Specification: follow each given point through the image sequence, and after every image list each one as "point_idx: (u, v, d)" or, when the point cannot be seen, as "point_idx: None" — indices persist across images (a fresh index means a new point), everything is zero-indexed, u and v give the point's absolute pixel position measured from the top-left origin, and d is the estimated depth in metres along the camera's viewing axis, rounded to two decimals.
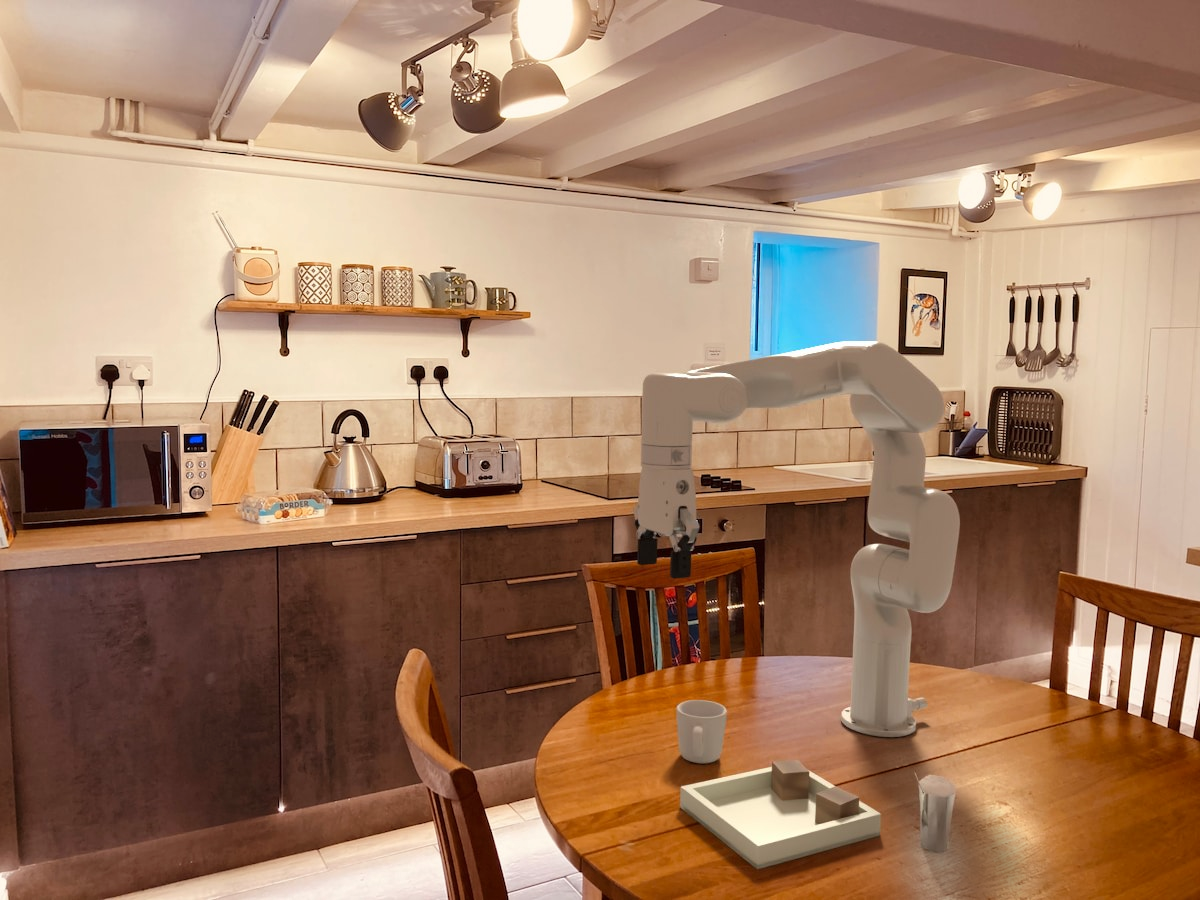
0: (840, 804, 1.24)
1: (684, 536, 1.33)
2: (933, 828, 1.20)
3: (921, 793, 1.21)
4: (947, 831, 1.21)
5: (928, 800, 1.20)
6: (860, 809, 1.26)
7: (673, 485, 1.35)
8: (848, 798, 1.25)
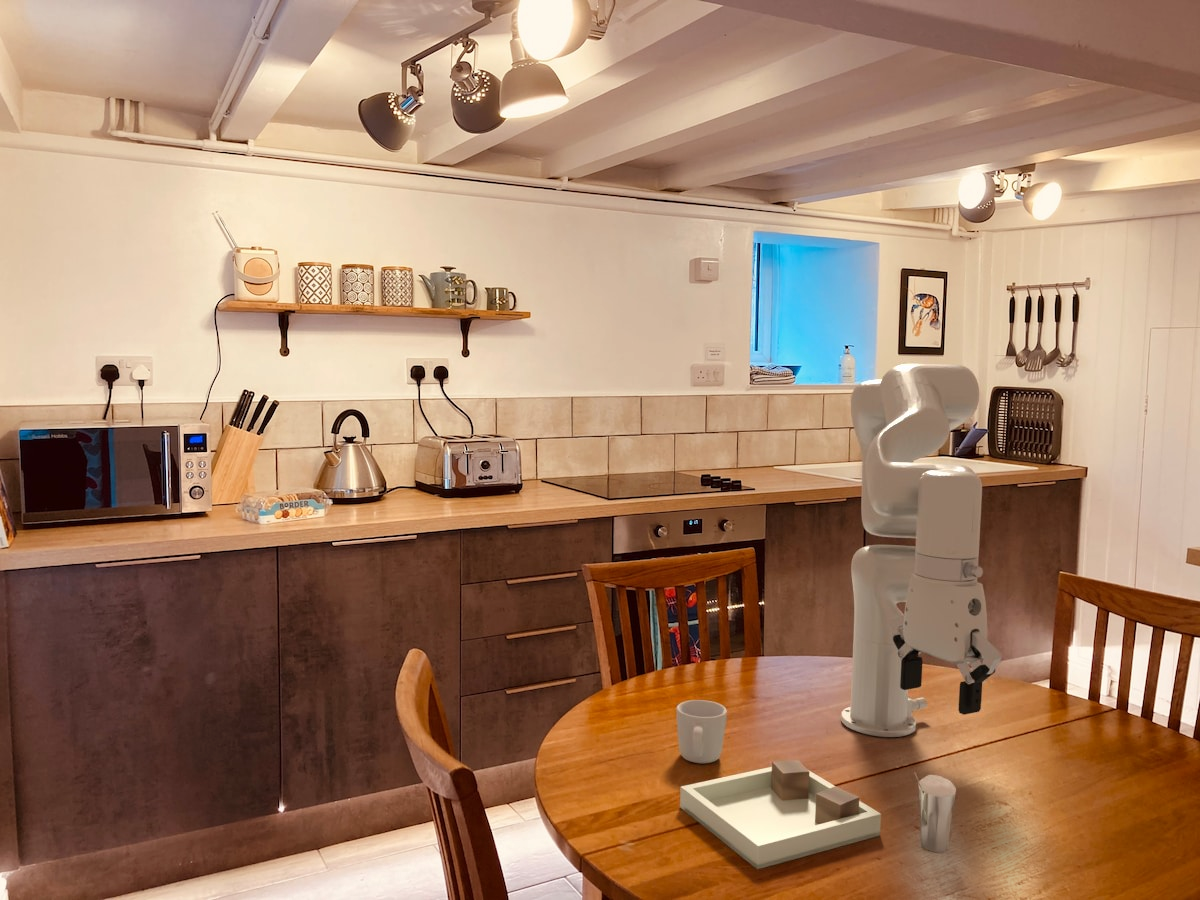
0: (840, 804, 1.24)
1: (982, 667, 1.13)
2: (933, 828, 1.20)
3: (921, 793, 1.21)
4: (947, 831, 1.21)
5: (928, 800, 1.20)
6: (860, 809, 1.26)
7: (965, 605, 1.14)
8: (848, 798, 1.25)
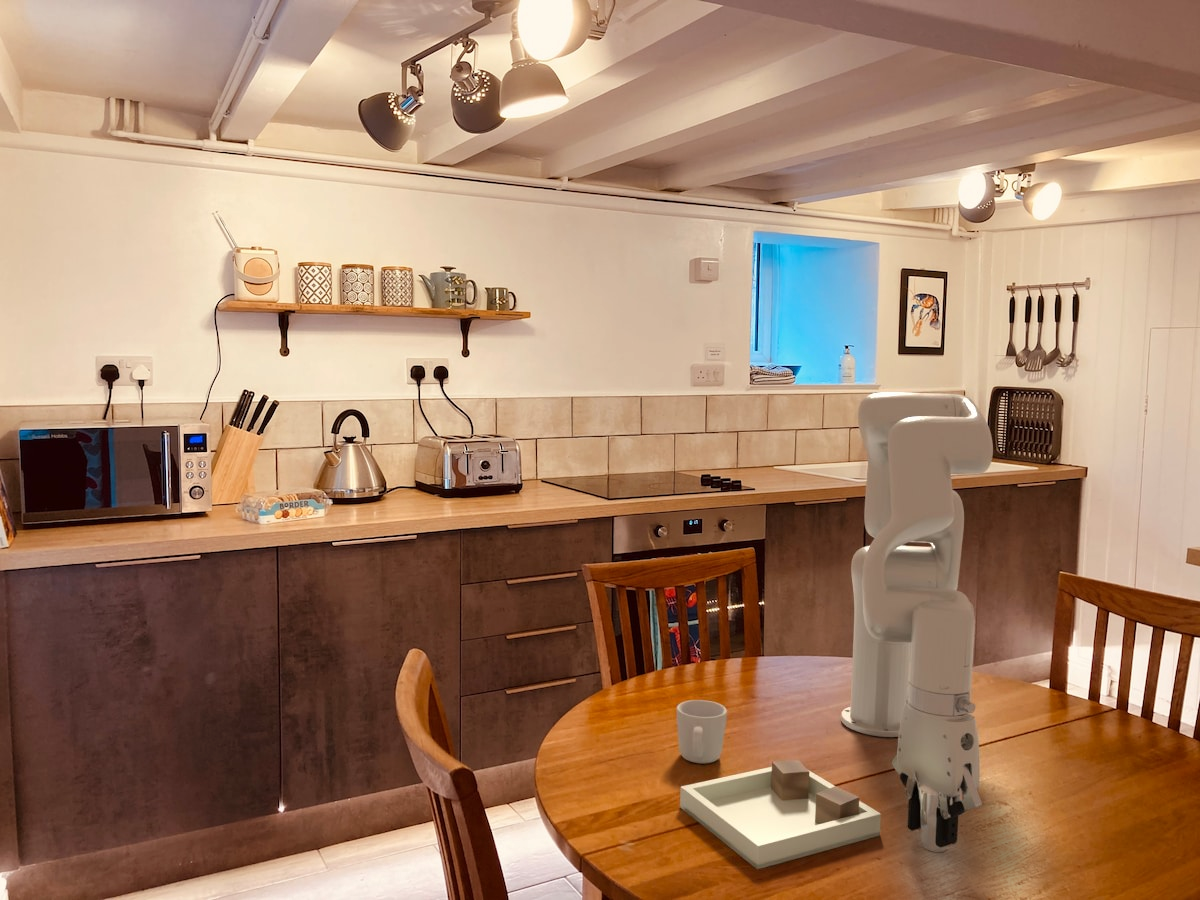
0: (840, 804, 1.24)
1: (957, 804, 1.17)
2: (933, 828, 1.20)
3: (920, 793, 1.21)
4: None
5: (927, 799, 1.20)
6: (860, 809, 1.26)
7: (957, 740, 1.16)
8: (848, 798, 1.25)
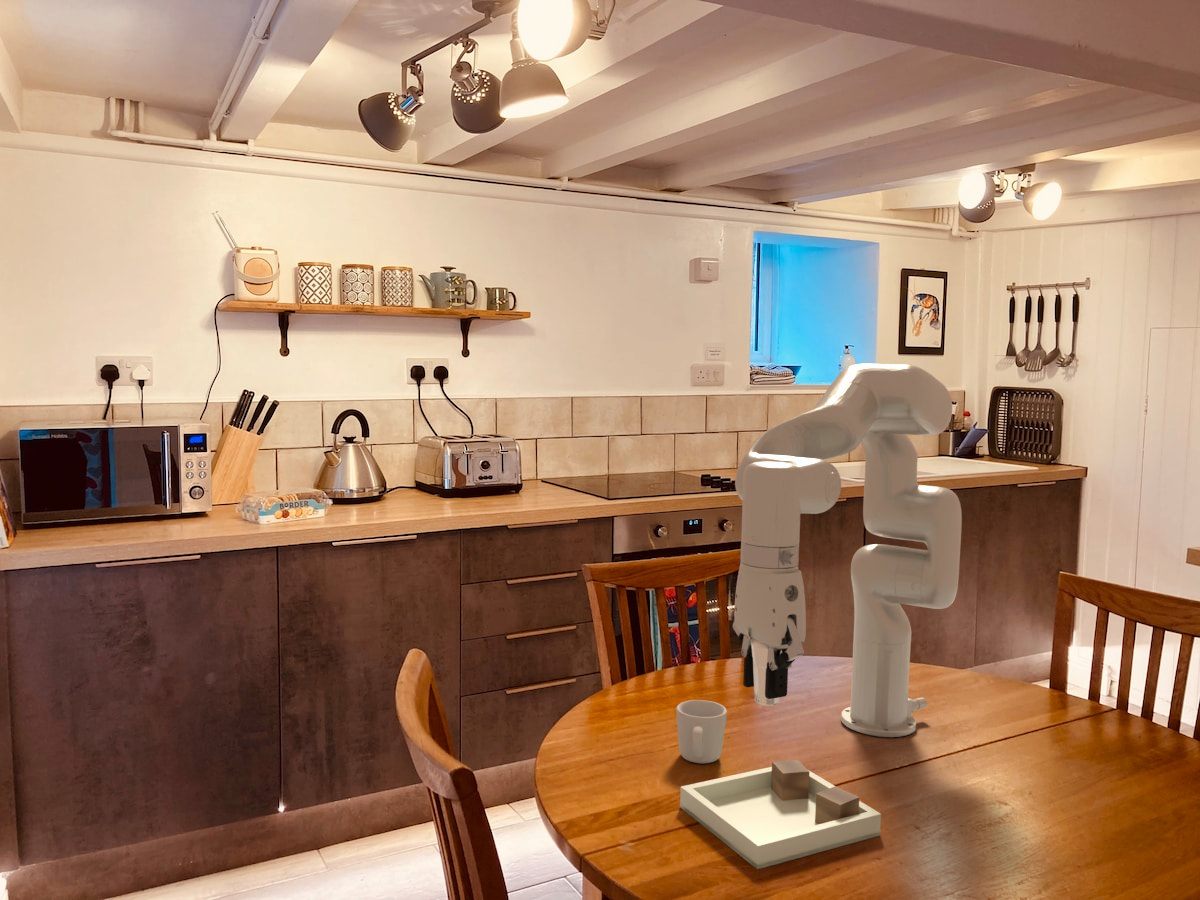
0: (840, 804, 1.24)
1: (782, 654, 1.20)
2: (764, 682, 1.24)
3: (752, 648, 1.24)
4: None
5: (758, 654, 1.24)
6: (860, 809, 1.26)
7: (781, 591, 1.19)
8: (848, 798, 1.25)
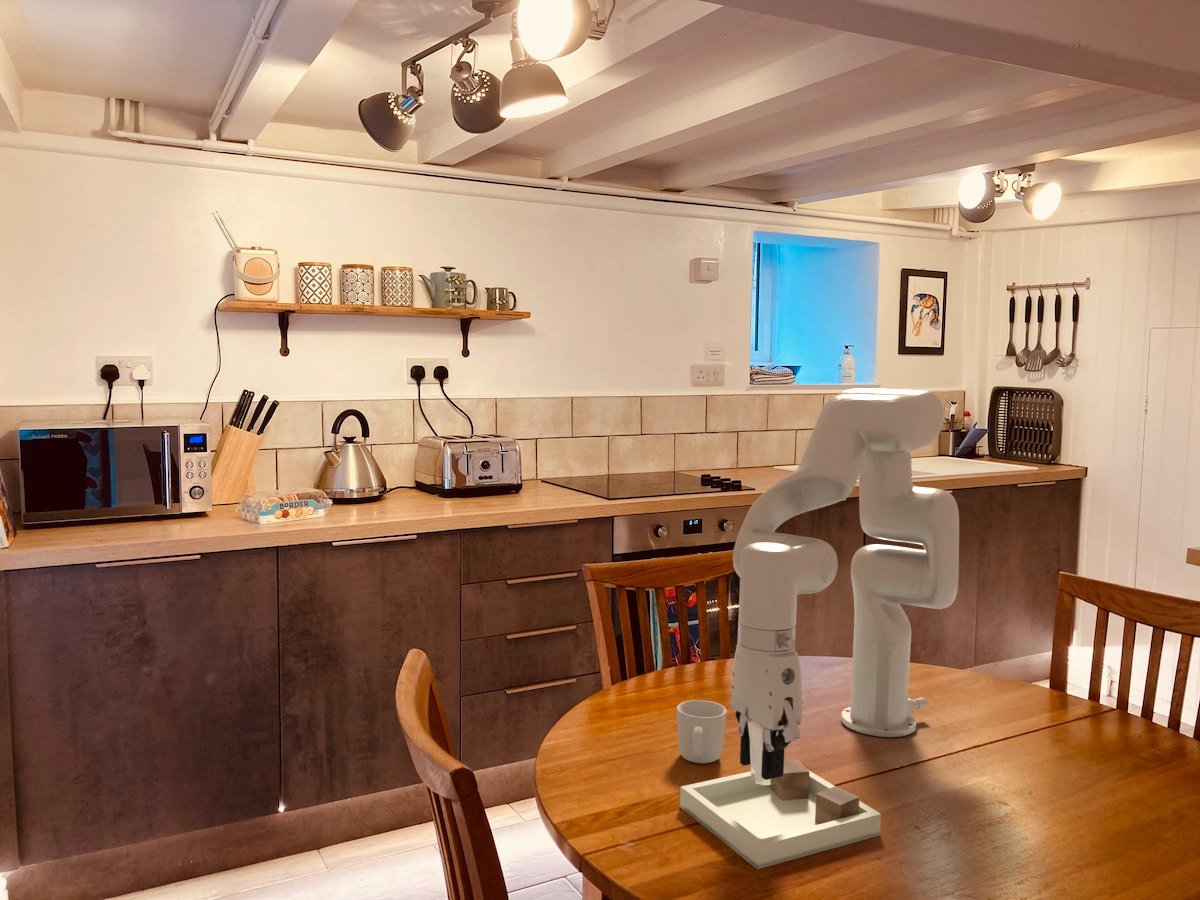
0: (840, 804, 1.24)
1: (779, 736, 1.21)
2: (760, 762, 1.25)
3: (749, 728, 1.25)
4: None
5: (754, 734, 1.24)
6: (860, 809, 1.26)
7: (778, 675, 1.20)
8: (848, 798, 1.25)
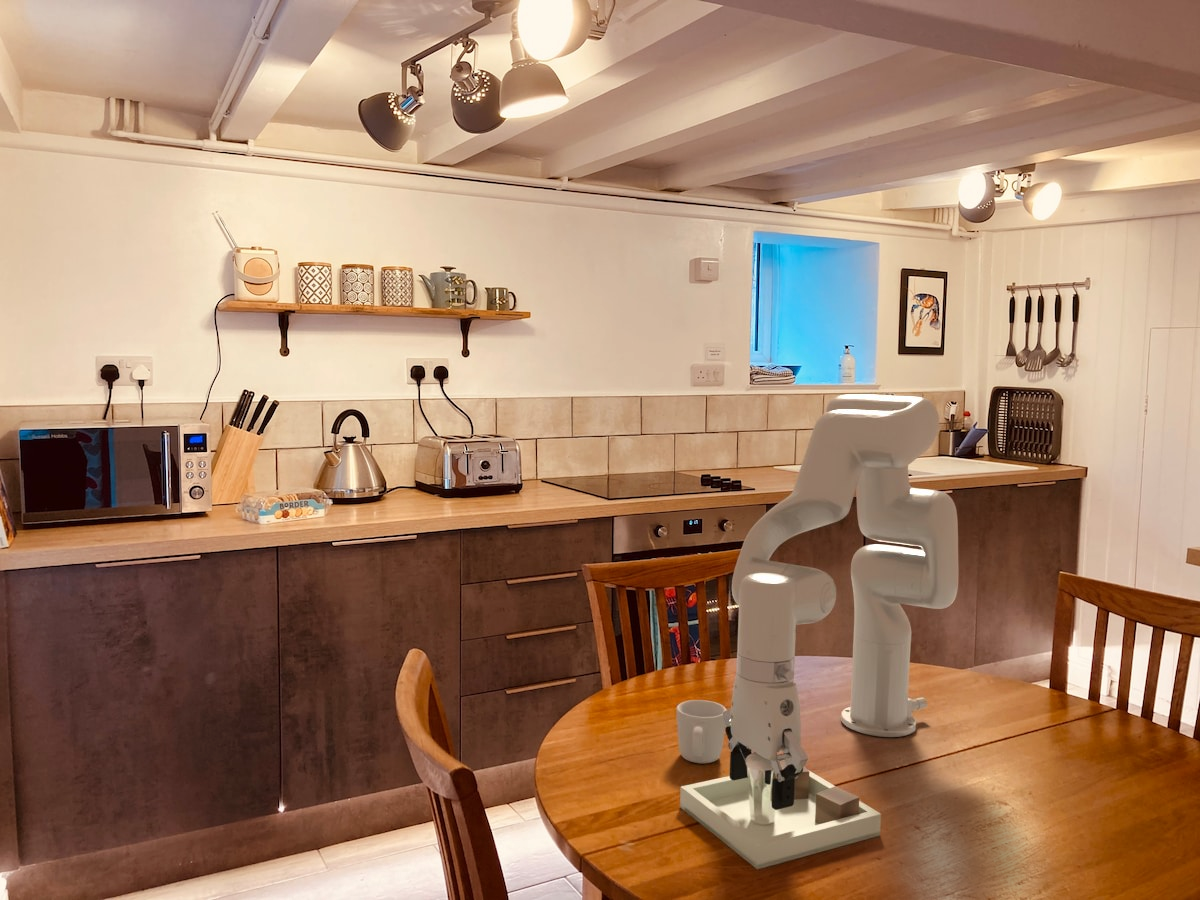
0: (840, 804, 1.24)
1: (789, 766, 1.19)
2: (759, 802, 1.25)
3: (747, 768, 1.26)
4: None
5: (752, 774, 1.25)
6: (860, 809, 1.26)
7: (777, 706, 1.21)
8: (848, 798, 1.25)
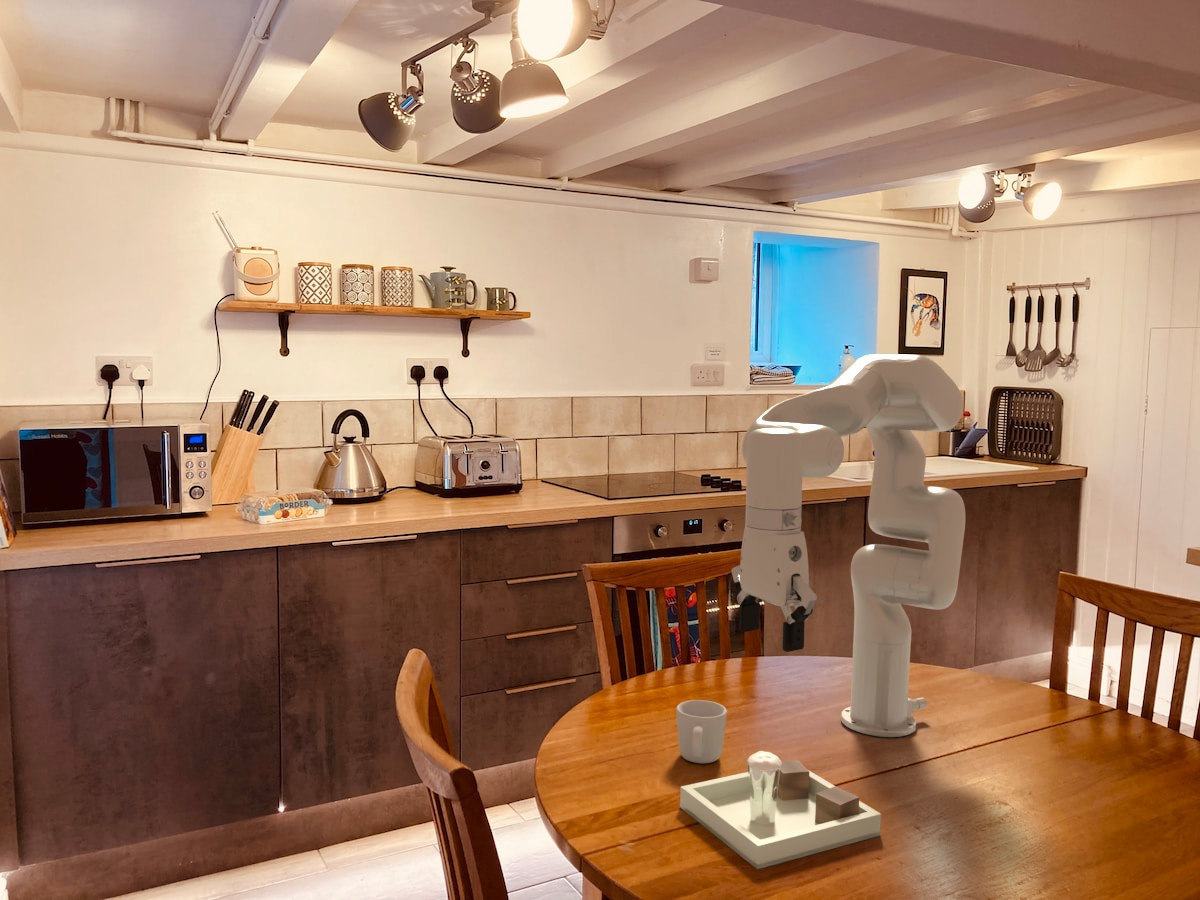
0: (840, 804, 1.24)
1: (800, 608, 1.23)
2: (759, 802, 1.25)
3: (749, 768, 1.26)
4: (773, 805, 1.26)
5: (754, 775, 1.25)
6: (860, 809, 1.26)
7: (785, 552, 1.25)
8: (848, 798, 1.25)
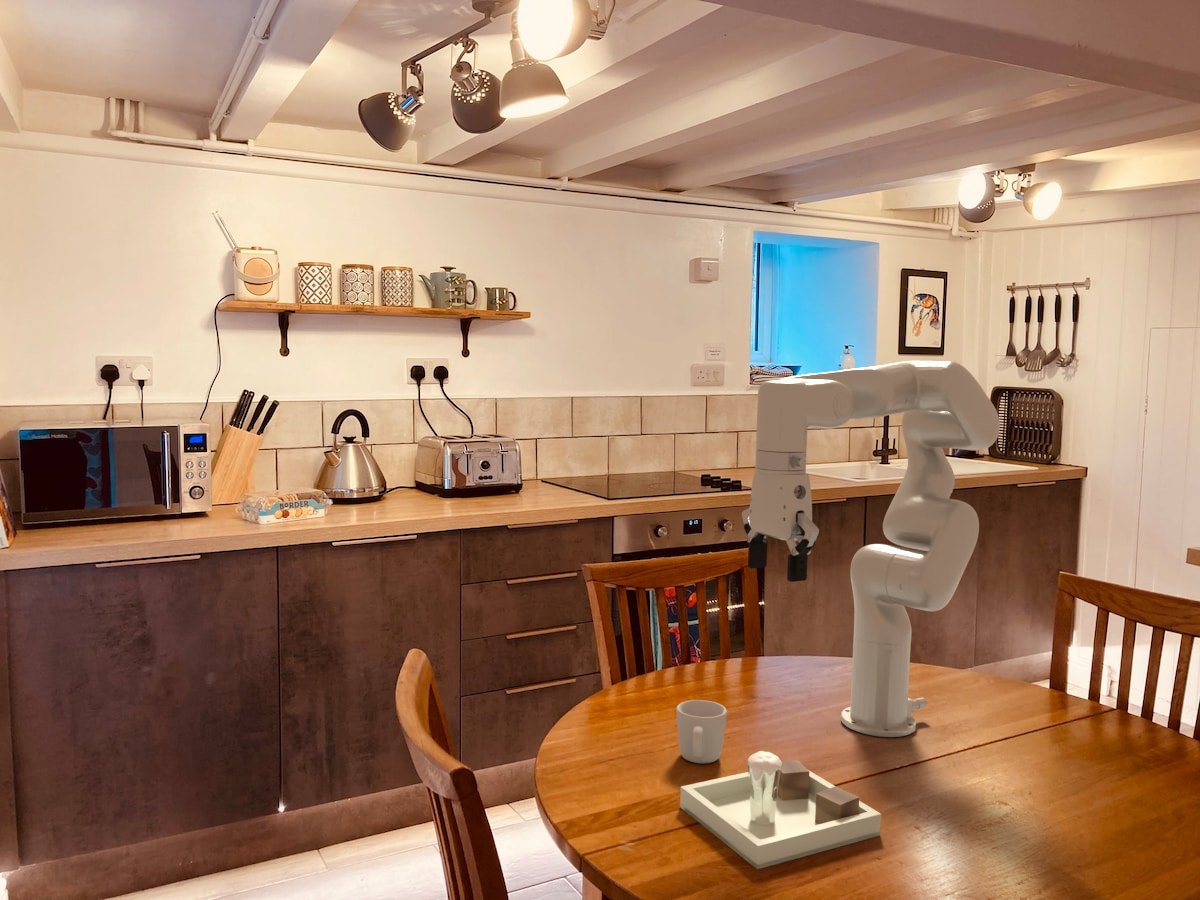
0: (840, 804, 1.24)
1: (803, 540, 1.36)
2: (759, 802, 1.25)
3: (749, 768, 1.26)
4: (773, 805, 1.26)
5: (754, 775, 1.25)
6: (860, 809, 1.26)
7: (791, 490, 1.37)
8: (848, 798, 1.25)
